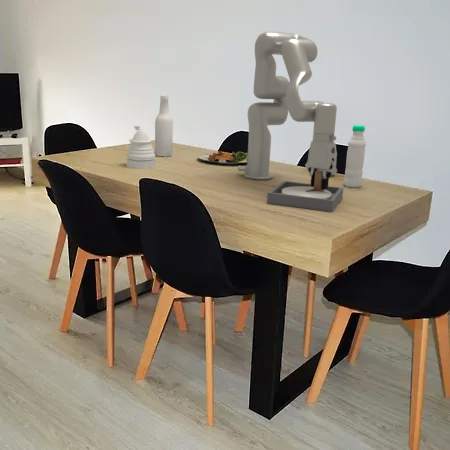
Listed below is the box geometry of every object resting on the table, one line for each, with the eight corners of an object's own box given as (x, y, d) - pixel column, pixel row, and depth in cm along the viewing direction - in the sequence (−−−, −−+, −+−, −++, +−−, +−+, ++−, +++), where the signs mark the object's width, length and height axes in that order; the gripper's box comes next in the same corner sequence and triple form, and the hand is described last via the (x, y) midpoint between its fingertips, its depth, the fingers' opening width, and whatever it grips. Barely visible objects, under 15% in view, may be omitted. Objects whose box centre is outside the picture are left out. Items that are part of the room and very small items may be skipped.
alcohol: (171, 157, 276) (172, 96, 268) (153, 156, 276) (154, 95, 268) (173, 154, 285) (174, 95, 276) (156, 153, 285) (156, 94, 276)
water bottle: (351, 188, 224) (358, 126, 217) (340, 184, 230) (346, 124, 223) (364, 187, 228) (371, 126, 221) (353, 183, 234) (359, 124, 226)
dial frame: (266, 203, 195) (268, 186, 193) (283, 190, 216) (284, 175, 214) (331, 211, 187) (333, 194, 185) (342, 197, 208) (344, 181, 207)
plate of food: (265, 163, 274) (265, 150, 272) (227, 168, 254) (228, 155, 252) (224, 156, 292) (224, 145, 290) (185, 161, 272) (186, 148, 271)
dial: (306, 204, 189) (308, 179, 186) (271, 193, 202) (272, 170, 200) (341, 198, 199) (344, 175, 197) (306, 188, 213) (308, 166, 210)
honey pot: (121, 166, 248) (120, 126, 242) (136, 162, 259) (136, 123, 254) (146, 169, 243) (146, 128, 238) (160, 165, 255) (160, 126, 249)
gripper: (348, 140, 195) (343, 190, 200) (311, 134, 207) (307, 182, 212) (336, 141, 190) (331, 193, 195) (298, 135, 202) (295, 184, 207)
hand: (319, 187), depth 204 cm, fingers closed on dial, 4 cm apart
